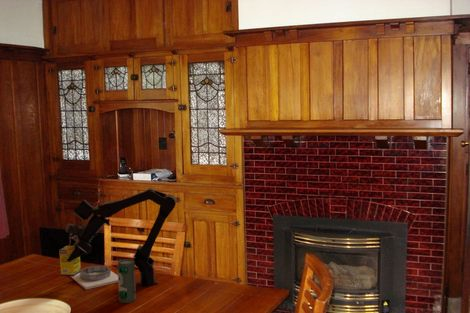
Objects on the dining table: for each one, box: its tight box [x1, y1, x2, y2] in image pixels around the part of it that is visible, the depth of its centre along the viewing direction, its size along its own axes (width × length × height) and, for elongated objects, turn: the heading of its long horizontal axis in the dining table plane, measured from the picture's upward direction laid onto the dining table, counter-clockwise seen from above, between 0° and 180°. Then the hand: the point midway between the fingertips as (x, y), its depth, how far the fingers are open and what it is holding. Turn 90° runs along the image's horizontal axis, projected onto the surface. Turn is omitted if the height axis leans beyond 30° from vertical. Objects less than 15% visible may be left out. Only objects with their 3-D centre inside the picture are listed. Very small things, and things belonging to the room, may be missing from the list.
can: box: [117, 259, 137, 304], centre depth 199 cm, size 6×6×15 cm
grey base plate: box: [69, 270, 118, 290], centre depth 225 cm, size 22×16×1 cm
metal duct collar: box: [80, 265, 112, 281], centre depth 225 cm, size 12×12×2 cm
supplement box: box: [58, 245, 82, 277], centre depth 210 cm, size 6×6×11 cm
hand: (66, 258), depth 210 cm, fingers closed on supplement box, 8 cm apart
